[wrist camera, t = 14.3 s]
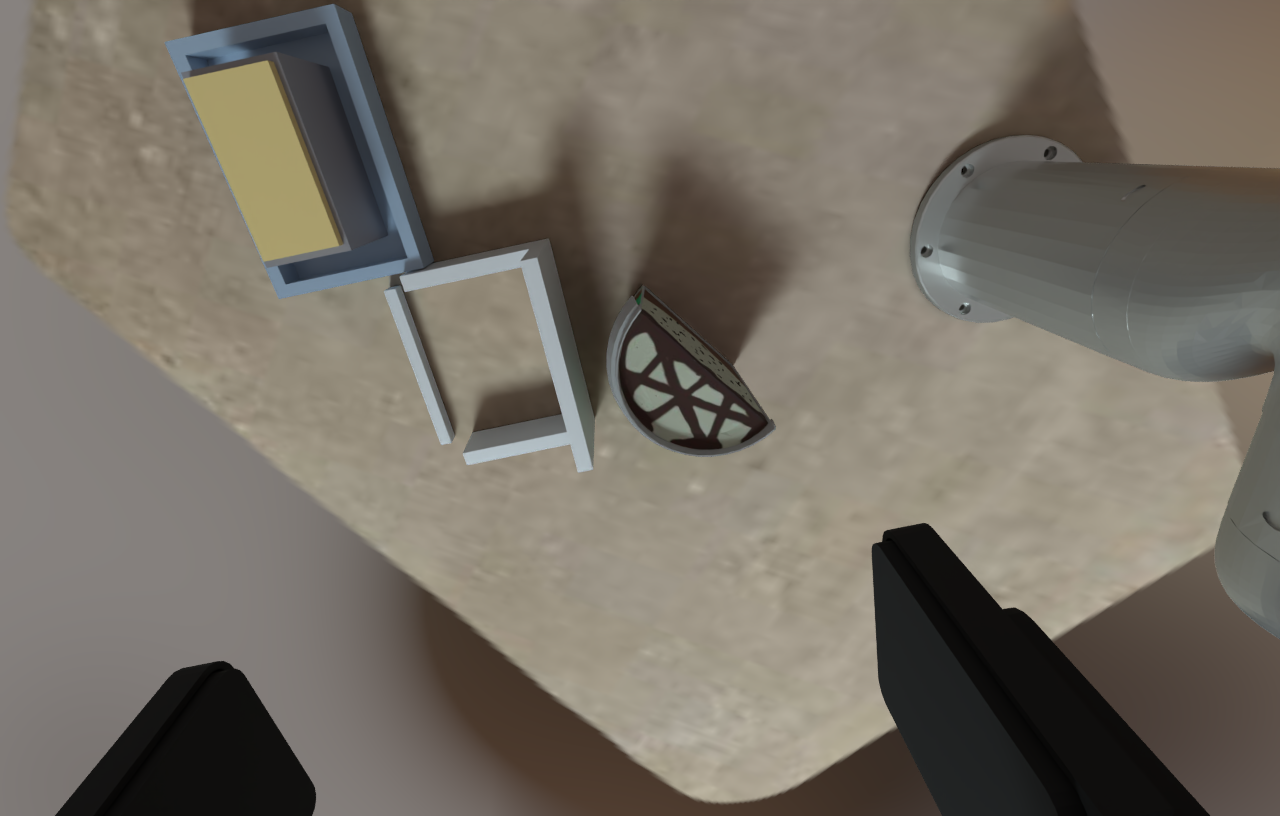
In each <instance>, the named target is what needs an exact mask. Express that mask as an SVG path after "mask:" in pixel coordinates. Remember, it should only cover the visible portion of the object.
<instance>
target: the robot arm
mask: <svg viewBox="0 0 1280 816" xmlns="http://www.w3.org/2000/svg"><path fill="white" fill-rule="evenodd" d="M1044 152H1045V153H1044ZM962 168H963V169H964V170H963V172H962V174H961V170H962ZM923 247H924V250H923V251H922V252H921V249H922V248H923ZM910 260H911V266H912V272H913V275H914V277H915V280H916V282H917V285H918V287H919V288H920V290H921V291H922V293H923V294H924V295H925V297H926V298H927V299H928V300H929V301H930V302H931V303H932V304H933V305H934V306H936V307H937V308H938V309H940V310H942V311H944V312H945V313H947V314H949V315H951V316H953V317H956V318H958V319H961V320H965V321H971V322H976V323H984V322H997V321H1002V320H1007V319H1010V318H1013V317H1015V318H1017V319H1020V320H1022V321H1025V322H1027V323H1029V324H1032V325H1034V326H1037V327H1039V328H1041V329H1044V330H1046V331H1049V332H1051V333H1053V334H1056V335H1058V336H1061V337H1063V338H1065V339H1068V340H1070V341H1073V342H1075V343H1077V344H1080V345H1082V346H1084V347H1087V348H1089V349H1092V350H1094V351H1096V352H1099V353H1101V354H1104V355H1106V356H1109V357H1111V358H1113V359H1116V360H1119V361H1121V362H1124V363H1126V364H1129V365H1131V366H1133V367H1136V368H1138V369H1141V370H1143V371H1146V372H1148V373H1152V374H1155V375H1158V376H1161V377H1165V378H1170V379H1175V380H1181V381H1192V382H1216V381H1226V380H1233V379H1239V378H1246V377H1251V376H1255V375H1260V374H1264V373H1268V372H1272V371H1274V375H1273V378H1272V381H1271V385H1270V387H1269V391H1268V394H1267V397H1266V399H1265V402H1264V405H1263V407H1262V416H1261V419H1260V421H1259V423H1258V426H1257V429H1256V431H1255V434H1254V436H1253V439H1252V441H1251V444H1250V447H1249V449H1248V452H1247V454H1246V457H1245V459H1244V462H1243V465H1242V467H1241V470H1240V472H1239V475H1238V477H1237V480H1236V483H1235V485H1234V488H1233V490H1232V493H1231V495H1230V498H1229V501H1228V505H1227V508H1226V510H1225V513H1224V516H1223V518H1222V521H1221V524H1220V528H1219V531H1218V535H1217V538H1216V544H1215V566H1216V570H1217V574H1218V578H1219V580H1220V582H1221V584H1222V586H1223V588H1224V589H1225V591H1226V593H1227V594H1228V596H1229V597H1230V598H1231V599H1232V600H1233V601H1234V603H1235V604H1236V605H1237V606H1238V607H1239V608H1240V609H1241V610H1242V611H1243V612H1244V613H1245V614H1246V615H1247V616H1249V617H1250V618H1251V619H1252V620H1253V621H1255V622H1256V623H1257V624H1258V625H1260V626H1261V627H1263V628H1264V629H1265V630H1267V631H1268V632H1270V633H1271V634H1273V635H1274V636H1276V637H1277V638H1279V639H1280V168H1250V167H1214V166H1179V165H1148V164H1116V163H1084V162H1082V160H1081V159H1080V158H1079V157H1078V156H1077V155H1076V154H1075V153H1074V151H1072V150H1071V149H1069V148H1068V147H1066V146H1065V145H1063V144H1062V143H1060V142H1058V141H1055V140H1052V139H1049V138H1046V137H1042V136H1032V135H1017V136H1007V137H1003V138H998V139H993V140H991V141H988V142H986V143H984V144H981V145H979V146H976V147H974V148H973V149H971V150H970V151H968V152H967V153H965V154H963V155H962V156H960V157H959V158H958V159H956V160H955V161H954V162H953V163H952V164H951V165H950V166H949V167H947V168H946V169H945V170H944V171H943V172H942V173H941V175H940V176H939V177H938V178H937V180H936V181H935V182H934V183H933V184H932V186H931V187H930V189H929V190H928V192H927V194H926V195H925V197H924V199H923V201H922V202H921V204H920V207H919V209H918V212H917V214H916V217H915V220H914V223H913V228H912V233H911V237H910ZM960 306H961V307H960ZM872 566H873V585H874V604H875V622H876V641H877V660H878V678H879V684H880V688H881V692H882V695H883V698H884V701H885V703H886V705H887V707H888V709H889V711H890V713H891V715H892V717H893V719H894V721H895V723H896V725H897V727H898V729H899V731H900V733H901V735H902V737H903V739H904V741H905V743H906V745H907V747H908V749H909V750H910V753H911V755H912V757H913V759H914V761H915V763H916V764H917V767H918V769H919V770H920V773H921V774H922V777H923V779H924V781H925V783H926V784H927V786H928V788H929V790H930V792H931V794H932V796H933V798H934V800H935V802H936V804H937V806H938V808H939V810H940V812H941V814H942V816H1210V815H1209V814H1208V813H1207V812H1206V811H1205V809H1204V808H1203V807H1202V806H1201V805H1200V804H1199V803H1198V802H1197V801H1196V799H1195V798H1194V797H1193V796H1192V795H1191V794H1190V793H1189V792H1188V791H1187V790H1186V788H1185V787H1184V786H1183V785H1182V784H1181V783H1180V782H1179V781H1178V780H1177V779H1176V777H1174V775H1173V774H1172V773H1171V772H1170V771H1169V770H1168V769H1167V767H1166V766H1165V765H1164V764H1163V763H1162V762H1161V761H1160V760H1159V759H1158V758H1157V756H1156V755H1155V754H1154V753H1153V752H1152V751H1151V750H1150V749H1149V748H1148V747H1147V745H1146V744H1145V743H1144V742H1143V741H1142V740H1141V739H1140V738H1139V737H1138V736H1137V735H1136V733H1135V732H1134V731H1133V730H1132V729H1131V728H1130V727H1129V726H1128V724H1127V723H1126V722H1125V721H1124V720H1123V719H1122V718H1121V717H1120V716H1119V715H1118V713H1117V712H1116V711H1115V710H1114V709H1113V708H1112V707H1111V706H1110V705H1109V704H1108V702H1107V701H1106V700H1105V699H1104V698H1103V697H1102V696H1101V695H1100V694H1099V692H1098V691H1097V690H1096V689H1095V688H1094V687H1093V686H1092V685H1091V684H1090V683H1089V682H1088V680H1087V679H1086V678H1085V677H1084V676H1083V675H1082V674H1081V673H1080V671H1079V670H1078V669H1077V668H1076V667H1075V666H1074V665H1073V664H1072V663H1071V662H1070V660H1069V659H1068V658H1067V657H1066V656H1065V655H1064V654H1063V653H1062V652H1061V651H1060V649H1059V648H1058V647H1057V646H1056V645H1055V644H1054V643H1053V642H1052V641H1051V639H1050V638H1049V637H1048V636H1047V635H1046V634H1045V633H1044V632H1043V631H1042V630H1041V628H1040V627H1039V626H1038V625H1037V624H1036V623H1035V622H1034V621H1033V620H1032V619H1031V618H1030V617H1029V616H1028V615H1027V614H1025V613H1024V612H1023V611H1021V610H1019V609H1017V608H1007V609H1002V608H1001V607H1000V606H999V605H998V604H997V602H996V601H995V600H994V599H993V598H992V597H991V595H990V594H989V593H988V592H987V591H986V590H985V588H984V587H983V586H982V585H981V584H980V583H979V581H978V580H977V579H976V578H975V577H974V576H973V575H972V573H971V572H970V571H969V570H968V569H967V568H966V566H965V565H964V564H963V563H962V562H961V561H960V559H959V558H958V557H957V556H956V555H955V554H954V552H953V551H952V550H951V549H950V548H949V547H948V546H947V544H946V543H945V542H944V541H943V540H942V539H941V537H940V536H939V535H938V534H937V533H936V532H935V530H934V529H933V528H932V527H931V526H930V525H928V524H926V523H921V524H916V525H911V526H906V527H901V528H896V529H891V530H886V531H885V532H884V534H883V540H882V542H879V543H875V544H873V546H872ZM315 803H316V792H315V787H314V785H313V783H312V781H311V780H310V778H309V776H308V775H307V773H306V772H305V770H304V769H303V767H302V765H301V764H300V762H299V761H298V759H297V757H296V756H295V754H294V753H293V751H292V750H291V748H290V746H289V745H288V743H287V742H286V740H285V739H284V737H283V735H282V734H281V732H280V731H279V729H278V727H277V726H276V724H275V723H274V721H273V719H272V718H271V716H270V715H269V713H268V712H267V710H266V708H265V707H264V705H263V704H262V702H261V700H260V699H259V697H258V696H257V694H256V693H255V691H254V689H253V688H252V686H251V685H250V683H249V681H248V680H247V678H246V677H245V675H244V674H243V673H242V672H241V671H240V670H238V669H234V668H233V667H232V665H230V664H229V663H227V662H224V661H217V662H212V663H207V664H202V665H197V666H192V667H186V668H182V669H180V670H178V671H176V672H174V673H173V674H172V675H171V676H170V677H169V678H168V679H167V680H166V681H165V683H164V684H163V685H162V686H161V687H160V689H159V690H158V691H157V692H156V694H155V695H154V696H153V697H152V698H151V700H150V701H149V702H148V703H147V704H146V706H145V707H144V708H143V709H142V711H141V712H140V713H139V714H138V715H137V717H136V718H135V719H134V720H133V722H132V723H131V724H130V725H129V727H128V728H127V729H126V730H125V731H124V733H123V734H122V735H121V736H120V737H119V739H118V740H117V741H116V742H115V744H114V745H113V746H112V747H111V748H110V749H109V751H108V752H107V753H106V755H105V756H104V757H103V758H102V759H101V760H100V762H99V763H98V764H97V765H96V767H95V768H94V769H93V770H92V771H91V773H90V774H89V775H88V776H87V777H86V779H85V780H84V781H83V782H82V784H81V785H80V786H79V787H78V788H77V790H76V791H75V792H74V793H73V794H72V796H71V797H70V798H69V799H68V800H67V802H66V803H65V804H64V805H63V807H62V808H61V809H60V810H59V811H58V813H57V814H56V815H55V816H312V814H313V811H314V809H315Z"/></svg>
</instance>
